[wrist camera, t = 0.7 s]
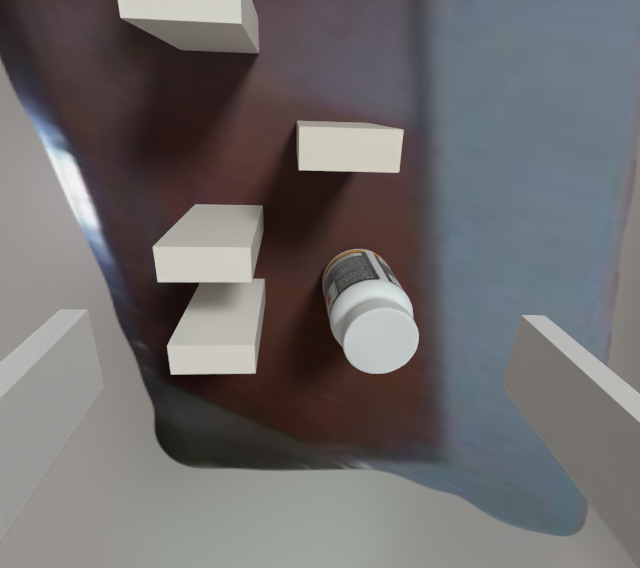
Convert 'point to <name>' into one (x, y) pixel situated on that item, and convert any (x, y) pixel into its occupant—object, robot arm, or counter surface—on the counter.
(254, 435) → the counter surface
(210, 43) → the domino
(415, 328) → the pill bottle
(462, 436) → the counter surface
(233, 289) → the domino
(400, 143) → the domino
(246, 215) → the domino
